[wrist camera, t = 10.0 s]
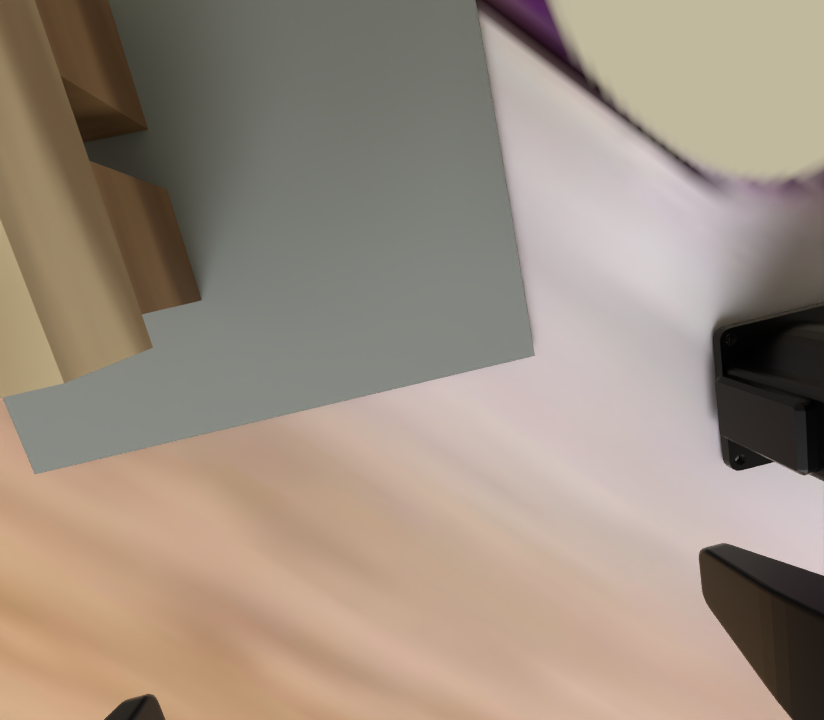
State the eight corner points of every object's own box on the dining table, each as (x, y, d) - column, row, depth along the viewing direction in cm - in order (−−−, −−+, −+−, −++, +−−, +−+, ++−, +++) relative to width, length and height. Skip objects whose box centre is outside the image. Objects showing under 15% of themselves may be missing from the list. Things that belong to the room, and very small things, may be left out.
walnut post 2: (167, 189, 17) (87, 160, 12) (201, 300, 18) (140, 314, 13) (52, 213, 17) (-75, 193, 12) (93, 324, 18) (-11, 348, 13)
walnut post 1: (107, 0, 16) (-8, -117, 11) (148, 129, 17) (57, 74, 12) (-17, 24, 16) (-191, -85, 11) (30, 153, 16) (-112, 107, 12)
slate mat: (443, -162, 16) (446, -175, 16) (530, 353, 20) (534, 355, 20) (-172, -49, 15) (-190, -59, 15) (43, 468, 19) (34, 474, 19)
